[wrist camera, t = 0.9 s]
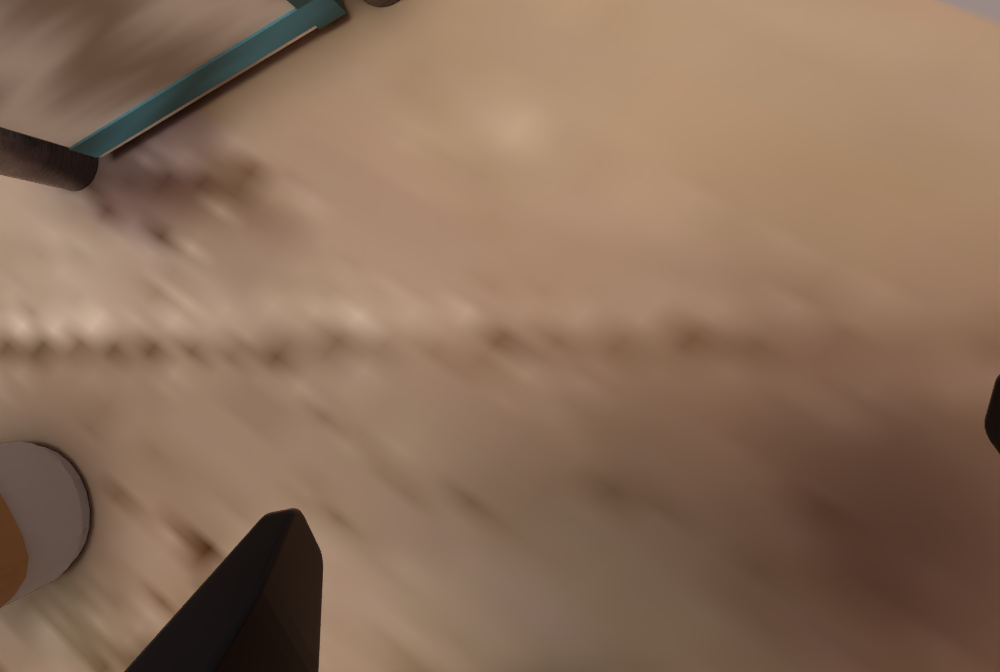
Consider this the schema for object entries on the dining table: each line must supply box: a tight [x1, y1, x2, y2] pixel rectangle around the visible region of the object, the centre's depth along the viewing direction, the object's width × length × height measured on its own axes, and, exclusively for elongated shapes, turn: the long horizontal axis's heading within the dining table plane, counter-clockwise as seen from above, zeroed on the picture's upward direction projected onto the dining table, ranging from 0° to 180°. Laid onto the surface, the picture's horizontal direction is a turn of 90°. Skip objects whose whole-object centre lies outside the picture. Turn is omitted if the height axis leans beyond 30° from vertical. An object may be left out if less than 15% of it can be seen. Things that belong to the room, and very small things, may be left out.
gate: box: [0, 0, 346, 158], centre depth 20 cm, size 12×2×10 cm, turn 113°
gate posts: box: [0, 0, 399, 191], centre depth 21 cm, size 18×2×8 cm, turn 113°
